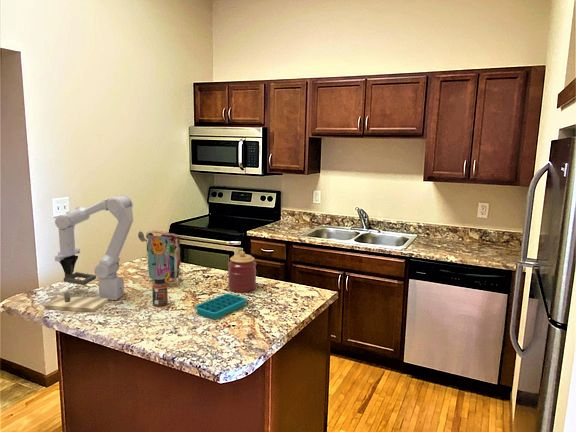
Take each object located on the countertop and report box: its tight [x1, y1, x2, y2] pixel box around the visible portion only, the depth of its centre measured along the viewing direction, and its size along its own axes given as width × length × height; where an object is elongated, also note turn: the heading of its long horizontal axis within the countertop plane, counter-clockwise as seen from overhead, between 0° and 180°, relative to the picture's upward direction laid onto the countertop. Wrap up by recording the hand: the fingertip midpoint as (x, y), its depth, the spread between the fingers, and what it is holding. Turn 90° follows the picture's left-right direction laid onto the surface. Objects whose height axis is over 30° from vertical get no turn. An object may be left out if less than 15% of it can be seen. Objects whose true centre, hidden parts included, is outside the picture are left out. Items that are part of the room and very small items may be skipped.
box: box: [137, 230, 184, 288], centre depth 198 cm, size 25×6×24 cm, turn 62°
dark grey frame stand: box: [63, 265, 97, 286], centre depth 179 cm, size 11×9×6 cm
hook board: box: [44, 291, 109, 313], centre depth 169 cm, size 20×11×5 cm, turn 84°
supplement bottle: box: [151, 277, 169, 307], centre depth 172 cm, size 6×6×11 cm
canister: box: [227, 250, 257, 293], centre depth 193 cm, size 13×13×18 cm
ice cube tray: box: [193, 293, 248, 320], centre depth 169 cm, size 12×20×3 cm, turn 147°
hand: (69, 273), depth 180 cm, fingers closed on dark grey frame stand
